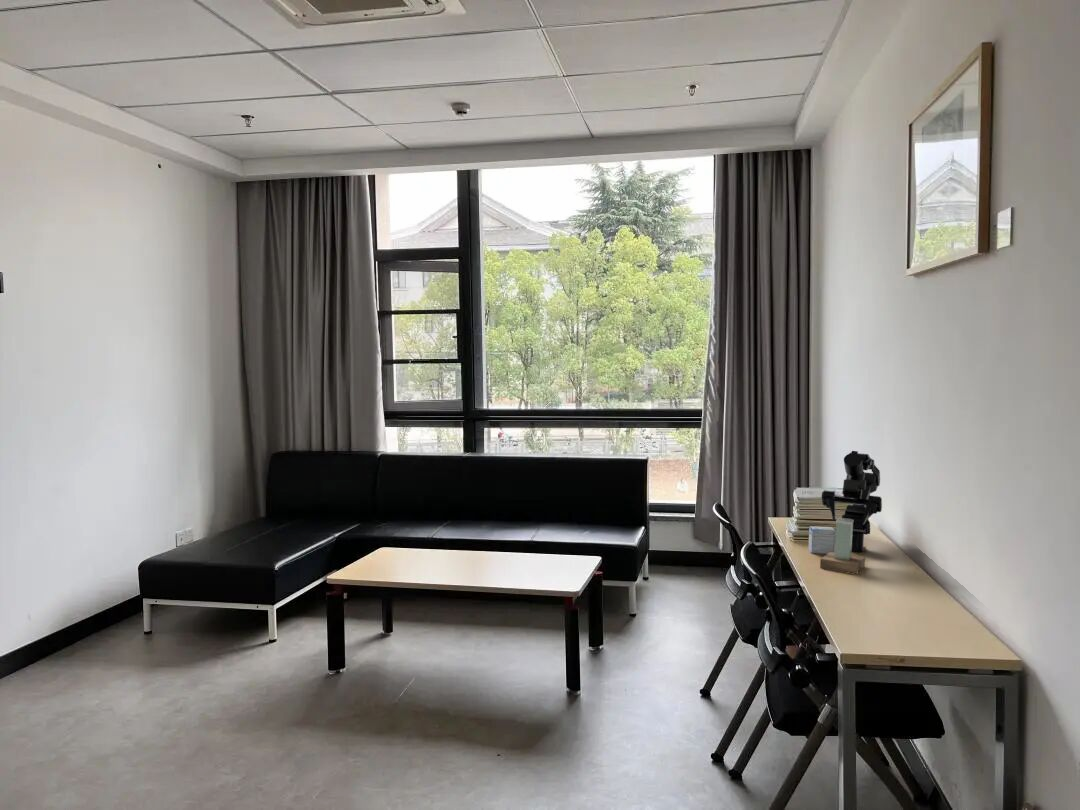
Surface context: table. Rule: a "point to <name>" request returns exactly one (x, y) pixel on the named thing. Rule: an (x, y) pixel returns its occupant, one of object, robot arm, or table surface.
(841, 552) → the tea tin
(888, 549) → the table surface
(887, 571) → the table surface
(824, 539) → the medicine box
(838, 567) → the plinth
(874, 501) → the robot arm
